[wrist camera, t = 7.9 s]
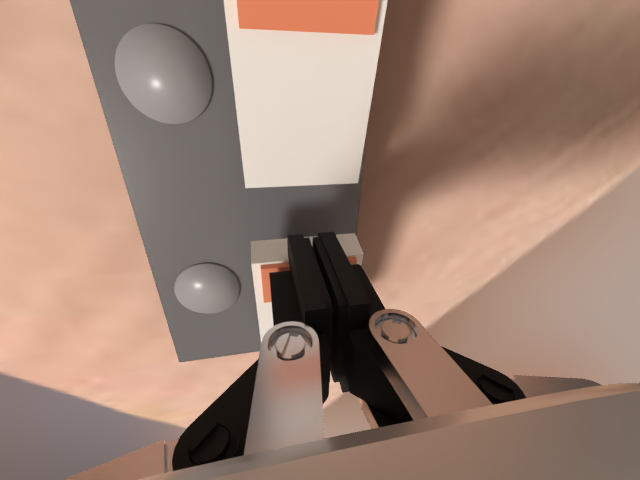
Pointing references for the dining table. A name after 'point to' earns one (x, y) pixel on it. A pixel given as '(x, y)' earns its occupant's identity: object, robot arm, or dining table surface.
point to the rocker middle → (303, 87)
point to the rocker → (275, 259)
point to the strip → (194, 166)
